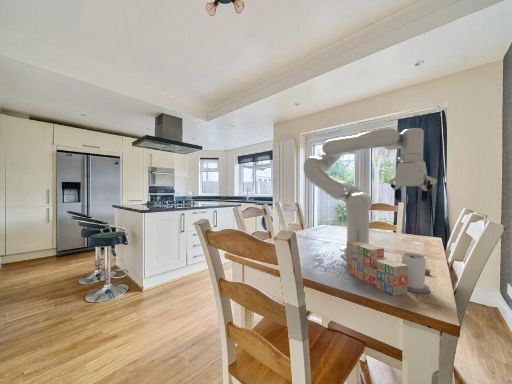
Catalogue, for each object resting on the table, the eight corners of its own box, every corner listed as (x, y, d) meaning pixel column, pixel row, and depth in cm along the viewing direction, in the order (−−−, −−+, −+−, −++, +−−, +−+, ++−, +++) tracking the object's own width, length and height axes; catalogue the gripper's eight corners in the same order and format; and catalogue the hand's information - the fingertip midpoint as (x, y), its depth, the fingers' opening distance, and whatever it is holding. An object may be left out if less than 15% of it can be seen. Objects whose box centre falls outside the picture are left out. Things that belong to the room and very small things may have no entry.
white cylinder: (396, 281, 75) (397, 253, 75) (411, 279, 76) (411, 252, 76) (415, 290, 68) (415, 259, 68) (431, 288, 70) (431, 257, 70)
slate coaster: (391, 285, 74) (391, 283, 74) (403, 279, 79) (403, 277, 79) (423, 296, 66) (423, 293, 66) (433, 288, 71) (433, 286, 71)
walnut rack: (379, 271, 87) (379, 266, 87) (394, 265, 94) (395, 260, 94) (415, 282, 76) (415, 276, 76) (429, 274, 83) (429, 269, 83)
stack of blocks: (408, 294, 68) (408, 255, 68) (392, 296, 66) (393, 257, 66) (358, 269, 88) (359, 240, 88) (346, 271, 87) (346, 241, 87)
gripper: (385, 160, 94) (384, 199, 95) (432, 155, 79) (431, 201, 80) (394, 161, 98) (393, 199, 98) (441, 157, 83) (440, 201, 83)
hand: (410, 200), depth 89 cm, fingers open, 9 cm apart
